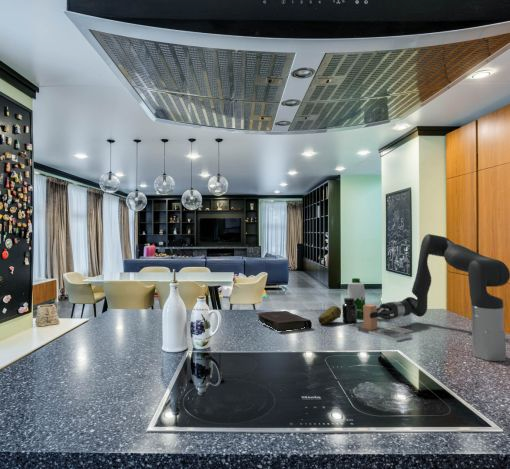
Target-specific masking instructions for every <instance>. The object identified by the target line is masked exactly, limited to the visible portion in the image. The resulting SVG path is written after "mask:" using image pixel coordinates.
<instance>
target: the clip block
mask: <svg viewBox="0 0 510 469" xmlns="http://www.w3.org/2000/svg"><path fill="white" fill-rule="evenodd" d="M377 307H378V306H377V305H374V304H365V305H363V318H362V319H363V323H364V329H368V330H374V329H377V327H378V318H370V313H373V312H377Z"/></svg>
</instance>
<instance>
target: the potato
mask: <svg viewBox="0 0 510 469" xmlns="http://www.w3.org/2000/svg"><path fill="white" fill-rule="evenodd" d="M341 315H342V310H341V308H340V307H338V306H336V305H335V306H333V305H332V306H330V307H329V308H327V309H326V310H325V311H324V312H323V313H322V314H320V316H318V322H319V324H321V325H327V324H331V323H332V322H334V321H335V320H337V319H338V318H341Z"/></svg>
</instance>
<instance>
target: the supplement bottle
mask: <svg viewBox="0 0 510 469" xmlns="http://www.w3.org/2000/svg"><path fill="white" fill-rule="evenodd" d="M341 308H342V310H341V312H342V323H343V324H345V325H353V324H358V318H357V307H356V304H354V298H348V297H345V298H343V303H342V306H341Z"/></svg>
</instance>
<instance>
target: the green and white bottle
mask: <svg viewBox="0 0 510 469" xmlns="http://www.w3.org/2000/svg"><path fill="white" fill-rule="evenodd" d="M365 289H366V288H365V284H364V282H361V279H360V278H358V277H357V278H356V277H355V278H354V277H353V278H351V281H349V282H348V284H347V298H354V304H356V307H357V319H364V318H363V316H361V311H363V305H366V292H365Z"/></svg>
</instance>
